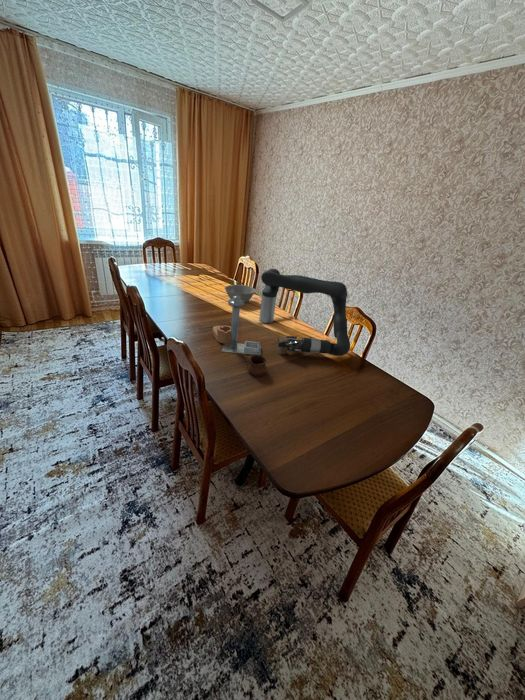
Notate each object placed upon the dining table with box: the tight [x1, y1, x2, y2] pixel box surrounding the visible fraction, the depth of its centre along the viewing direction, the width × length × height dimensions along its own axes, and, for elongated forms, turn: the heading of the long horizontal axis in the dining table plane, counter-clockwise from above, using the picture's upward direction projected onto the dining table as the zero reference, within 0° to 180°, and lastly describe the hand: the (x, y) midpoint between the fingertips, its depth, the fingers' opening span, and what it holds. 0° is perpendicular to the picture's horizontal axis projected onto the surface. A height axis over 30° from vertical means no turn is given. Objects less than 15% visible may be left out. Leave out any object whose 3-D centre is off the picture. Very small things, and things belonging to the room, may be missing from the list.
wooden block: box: [276, 337, 289, 356], centre depth 149 cm, size 4×4×8 cm
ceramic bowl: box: [224, 284, 256, 304], centre depth 211 cm, size 22×23×10 cm
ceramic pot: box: [240, 355, 268, 377], centre depth 131 cm, size 18×18×7 cm
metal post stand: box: [221, 296, 262, 356], centre depth 143 cm, size 10×20×28 cm, turn 90°
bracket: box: [212, 325, 231, 344], centre depth 158 cm, size 18×8×7 cm, turn 23°
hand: (278, 342), depth 148 cm, fingers closed on wooden block, 5 cm apart
